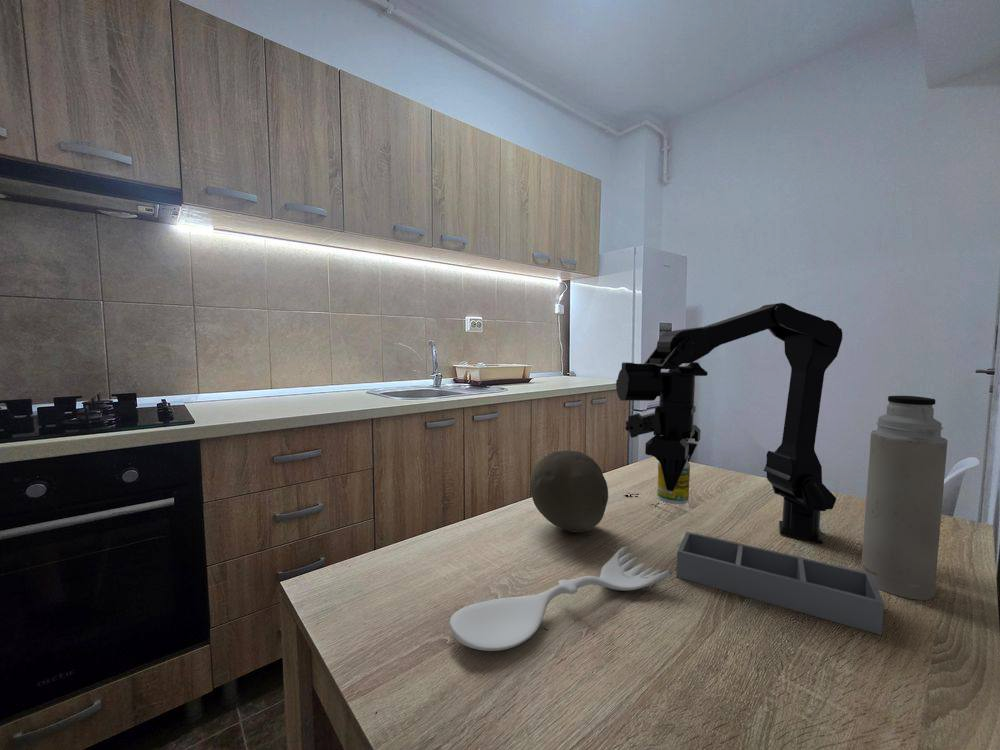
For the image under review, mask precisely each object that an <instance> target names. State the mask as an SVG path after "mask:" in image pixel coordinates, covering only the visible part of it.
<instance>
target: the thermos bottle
mask: <svg viewBox="0 0 1000 750" xmlns="http://www.w3.org/2000/svg"><path fill="white" fill-rule="evenodd" d="M887 401H888V404H887V406H886V413H885V414H883V415H881V416H878V418H877V423H876V426H877V429H875V430H871V432H870V443H869V456H868V457H869V458H868V471H867V483H866V497H865V510H864V511H865V512H864V523H863V525H864V526H863V536H862V538H863V540H862V551H861V552H862V553H861V563H860V564H861V566H860V571H863V572H867V573H871V575H872V578H873V580H874V582H875V584H876V587H877V589H878V590H880V591H883V592H886V593H888V594H891V595H894V596H897V597H901V598H902V597H903V598H906V599H912V600H918V601H919V600H920V601H921V600H922V601H926V600H931V599H933V598H934V597H935V593H936V584H937V583H936V581H937V570H938V558H939V556H938V555H939V547H940V534H941V522H942V521H941V520H942V512H943V499H944V498H943V497H944V487H945V486H944V485H945V476H946V464H947V453H948V451H947V450H948V439H947V438H945V437H942V430H943V429H944V428H943V426H942V423H941V422H940V421H939V420H937V419H936V418H934V415H935V413H934V412H935V410H934V409H935V408H934V405H936V399H935V398H931V397H925V396H917V395H916V396H915V395H888V396H887Z"/></svg>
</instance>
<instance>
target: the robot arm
mask: <svg viewBox="0 0 1000 750" xmlns="http://www.w3.org/2000/svg"><path fill="white" fill-rule="evenodd" d="M842 329H843V328H840V326H839V325H838V324H837V323H836V322H834V321H833V320H830V319H823V318H821V317H819V316H817V315H814V314H811V313H808V312H805V311H802V310H799V309H797V308H795V307H793V306H791V305H789V304H786V303H784V302H779V303H771V304H764V305H762V306H761V307H759V308H757V309H753V310H750V311H747V312H744V313H741V314H738V315H736V316H732V317H729V318H726V319H723V320H720V321H716V322H714V323H710V324H707V325H705V326H700V327H692V328H683V329H676V330H669V331H666V332H663V333H661V335H659V338H658V340H657V343H656V347H655V349H654V350H653V352H652V353H651V354H650V355H649V357H648V358H647V359H646V360H645V362H644V363H635V362H624V361H623V362H621V369H620V370H619V371H618V375H617V379H616V382H615V385H616V387H615V388H616V393H617V397H618V399H619V400H620V401H622V402H624V401H627V402H628V401H629V402H630V401H632V402H635V401H636V402H638V401H639V402H640V401H641V402H642V401H644V402H645V401H647V402H648V401H649V402H652V401H655V400H656V399H657V397H659V401H658V403H659V405H657V406H656V407H655V408H654V412H652V413H648V414H643V415H641V414H640V413H639V412H638V413H636V414H631V415H629V416H628V420H626V421H625V425H626V426H625V429H624V430H625V431H628V433H629V435H630V438H636V437H638V436H639V435H645V434H648V433H653V435H652V437H651V438H650V439H649V440H647V441H646V442H645V453H644V454H645V455H647V456H651V457H654V458H655V459H656V460H657V462H658V461H659V462H660V464H661V468H662V472H663V476H664V480H665V484H666V489H667V490H669V491H673V490H674V488H675V486H676V484H677V482H678V480H679V478H680V475H681V473H682V471H683V469H684V467H685V465H686V462H687V461H688V462H689V463H690V460H692V456H693V454H694V453H695V451H696V449H697V447H698V442H700V440H701V433H702V431H701V429H700V428H699V427H698V426H697V425H696V424H694V414H695V413H696V405H695V384H696V383H695V381H696V377H707V376H708V375H709V373H708V371H707V370H706V369H704V368H703V367H702V366H701V364H700V363H699V362H696V361H697V360H699V359H701V358H704V357H705V356H707V355H709V353H711V352H712V351H714V350H715V349H716V348H717V347H719V346H722V345H724V344H727V343H730V342H733V341H738V340H739V339H742V338H746V337H748V336H752V335H755V334H757V333H760V332H763V331H766V330H768V331H769V332H770V333H771V334H772V336H773V337H775V338H777V339H779V340H781V341H782V342H784V343H783V344H784V345H783V346H784V355H785V357H786V359H787V362H788V363H789V366H790V370H791V372H790V379H789V385H788V393H787V402H786V409H785V417H784V423H783V425H784V426H783V431H782V432H783V433H782V438H781V443H780V445H779V446H778V448H776V450H775V451H772V450H767V452H766V464H765V467H764V468H763V471H764V472H766V479H767V481H768V482H769V483H770V484H771V486H772V489H773V490H772V491H773V493H774V494H776V495H778V496H781V497H783V502H782V503H783V505H782V518H781V519H782V520H779V521H778V527H779V534H780V535H781V536H786V537H790V538H796V539H800V540H805V541H809V542H815V543H818V544H819V543H820V544H823V543H824V537H823V533H822V531H821V528H820V527H821V512H826V511H828V510H833V508H834V506H835V504H836V502H837V498H836V496H835V495H834V494H833V493H832V492H831V491H830V489H828V488H827V486H826V485H825V484H824V483H823V469H822V468H823V467H822V464H821V462H820V459H819V458H818V455H817V453H816V451H815V445H816V438H817V431H818V423H819V415H820V408H821V401H822V393H823V388H824V387H823V385H824V379H825V372H826V370H827V369H828V367H830V365H832V363H833V361H835V360H836V358H837V357H838V355H839V351H840V348H841V344H842V341H843V330H842ZM683 364H688V365H685V366H684V365H683ZM682 365H683V366H682ZM662 370H668V371H662ZM691 439H694V442H690V440H691ZM695 442H697V443H695Z"/></svg>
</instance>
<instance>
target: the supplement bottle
mask: <svg viewBox="0 0 1000 750" xmlns="http://www.w3.org/2000/svg"><path fill="white" fill-rule="evenodd" d="M690 476H691V463H690V461H689V462H688V461H687V462H686V465H685V467H684V469H683V471H682V473H681V475H680V478H679V480H678V482H677V484H676V486H675V488H674V490H673V491H669V490H667V489H666V484H665V480H664V476H663V472H662V468H661V464H660V462H659V461H658V460H657V491H656V492H657V493H656V495H657V498H658V500H661V501H663V502H665V503H668V504H670V505H685V504H687V503H688V502H689V499H690V498H689V497H690V496H689V495H690Z"/></svg>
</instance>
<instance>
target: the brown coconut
mask: <svg viewBox="0 0 1000 750" xmlns="http://www.w3.org/2000/svg"><path fill="white" fill-rule="evenodd" d="M529 490H530V494H531V498H532V501H533V504H534V506H535V508H536V509H537V511H538V512H539V513H540V514H541V515H542V517H543V518H545V520H547V521H548V522H549V523H551V524H552V525H554V526H555V527H557V528H559V529H562V530H565V531H568V532H573V533H583V532H587V531H590V530H591V529H593V528H595V527H597V525H598V524H600V523H601V521H602V519H603V518H604V515H605V511H606V509H607V505H608V501H609V488H608V483H607V481H606V478H605V476H604V474H603V472H602V469H601V467H600V465H599V464H598V463H597V462H596V461H595V460H594V459H593V458H592V457H590V456H589V455H587V454H585V453H583V452H581V451H578V450H577V451H576V450H559V451H552V452H550V453H548V454H547V455H545V456H543V458H540V460H539V461H538V462H537V463H536V465H535V466H534V468H533V470H532V471H531V475H530V478H529Z"/></svg>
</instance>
